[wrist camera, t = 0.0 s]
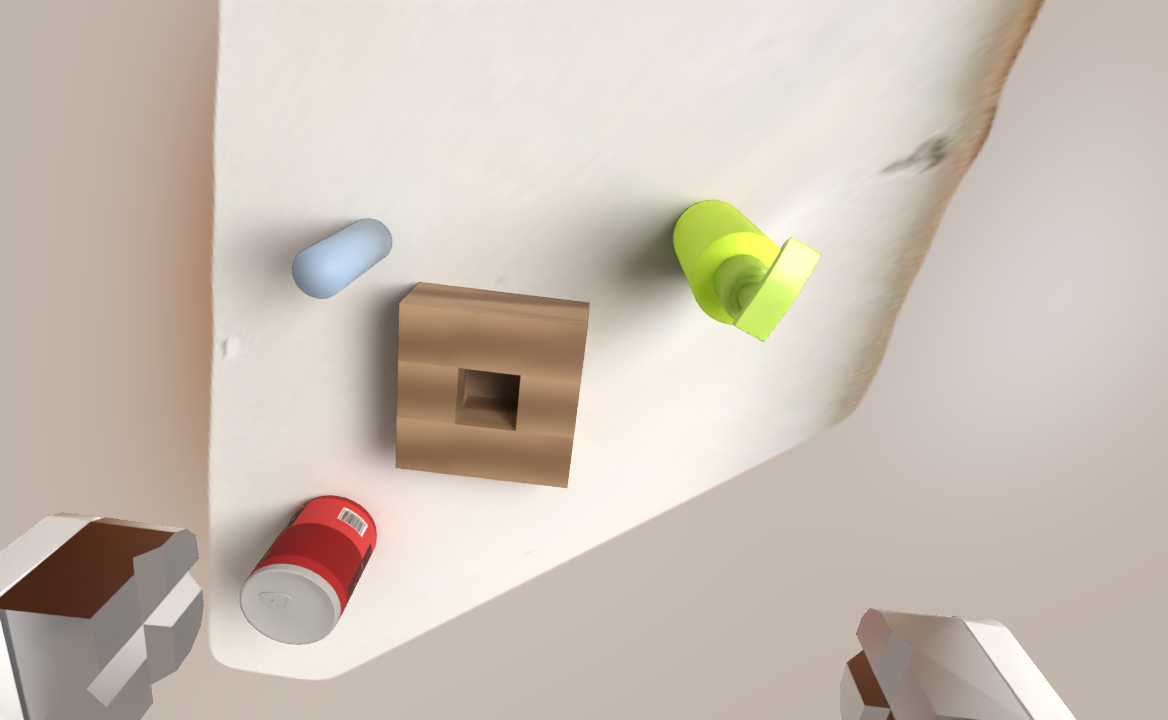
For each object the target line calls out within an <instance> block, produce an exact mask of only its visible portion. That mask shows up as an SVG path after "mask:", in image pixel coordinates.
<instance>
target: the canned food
mask: <svg viewBox="0 0 1168 720" xmlns="http://www.w3.org/2000/svg"><path fill="white" fill-rule="evenodd" d="M376 538H377V534H376V526H375V523H374V521H373V519H372V517H371V516H370V514H369V513H368V512H367V511H366V510H365V509H364V508H363V507H362V506H360V505H359V504H357V503H355V502H354V501H352V500H349V499H347V498H343V497H339V496H322V497H318V498H315V499H313V500H311V501H309V502H307V503H306V504H304V505H303V506H302V507H300V508H299V509H298V511H297V512H296V513H295V515H294V516H293V517H292V519H291V520H290V521H289V523H288V524H287V525H286V527H285V528H284V529H283V531H282V532H281V533H280V535H279V536H278V538H277V539H276V540H275V542H274V543H273V544H272V546H271V547H270V548H269V550H268V551H267V552H266V554H265V555H264V556H263V558H262V559H261V560H260V562H259V563H258V564H257V566H256V567H255V569H254V570H253V571H252V573H251V574H250V576H249V577H248V579H247V580H246V581H245V584H244V586H243V587H242V590H241V593H240V605H241V609H242V611H243V614H244V616H245V617H246V619H247V620H248V622H249V623H250V624H251V625H252V626H253V627H254V628H255V629H256V630H258V631H259V632H261V633H262V634H263V635H265V636H267V637H269V638H271V639H274V640H276V641H279V642H283V643H288V644H298V645H300V644H309V643H313V642H317V641H319V640H321V639H323V638H324V637H326V636H327V635H328V634H330V632H331V631H332V630H333V629H334V627H335V626H336V624H337V623H338V621H339V619H340V617H341V615H342V613H343V611H344V609H345V607H346V605H347V603H348V601H349V599H350V597H351V595H352V593H353V591H354V589H355V587H356V585H357V583H358V581H359V579H360V577H361V575H362V573H363V571H364V569H365V567H366V565H367V563H368V561H369V559H370V557H371V555H372V552H373V550H374V548H375V545H376Z"/></svg>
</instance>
